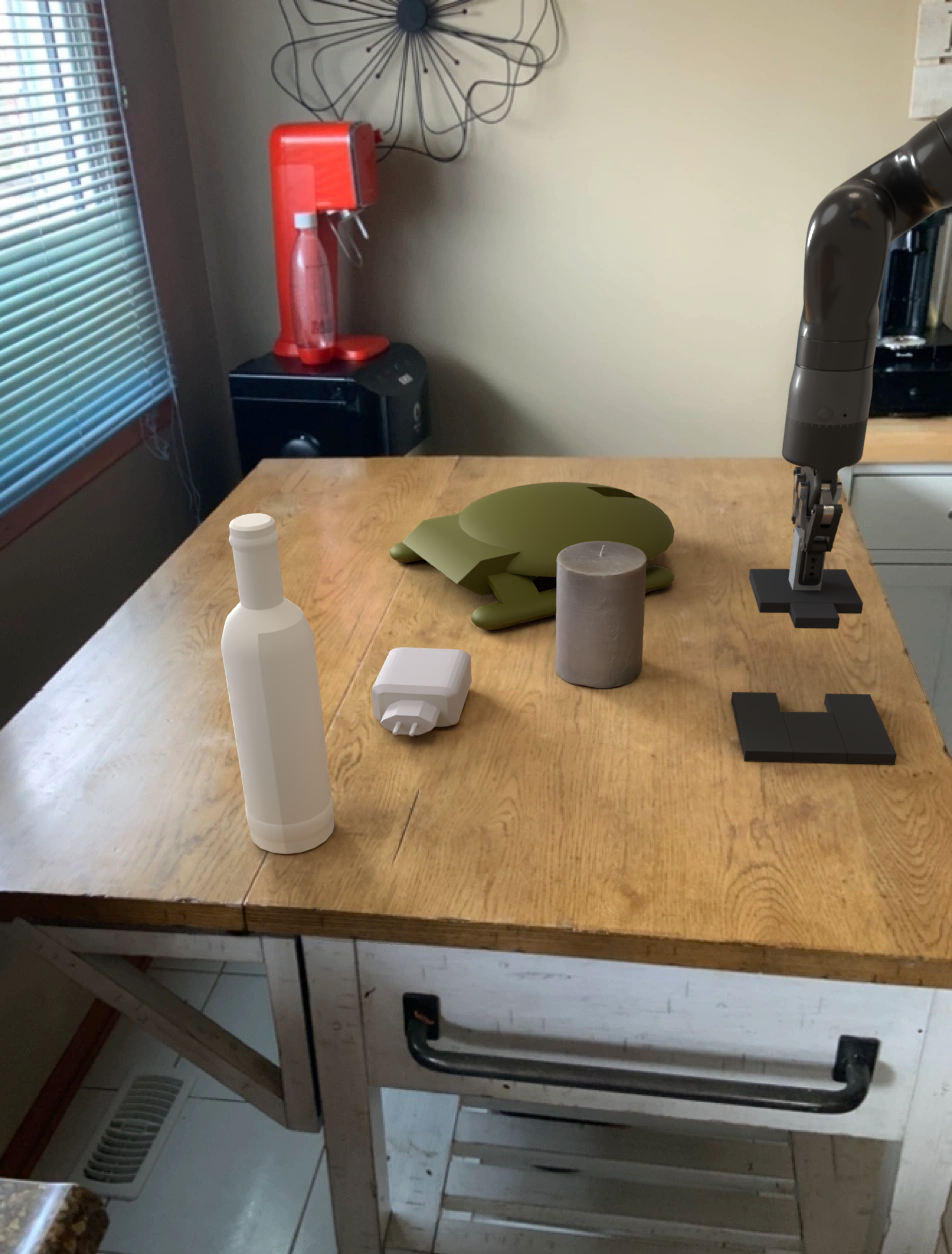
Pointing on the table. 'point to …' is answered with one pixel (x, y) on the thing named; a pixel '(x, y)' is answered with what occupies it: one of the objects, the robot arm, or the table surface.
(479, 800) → the table surface
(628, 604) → the pillar candle
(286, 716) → the bottle
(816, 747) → the pad
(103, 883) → the table surface
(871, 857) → the table surface
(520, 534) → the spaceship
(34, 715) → the table surface
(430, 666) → the charger
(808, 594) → the loose pad
